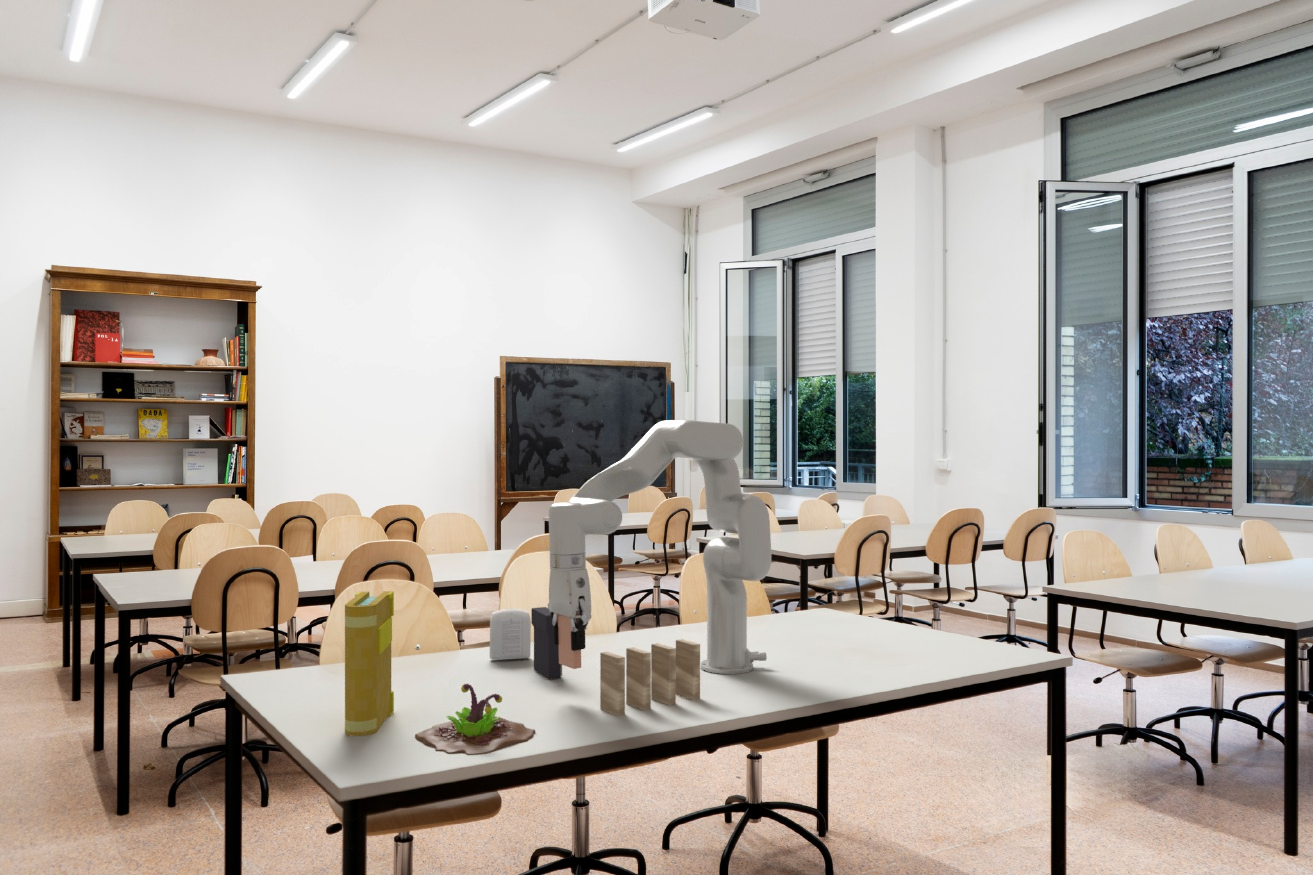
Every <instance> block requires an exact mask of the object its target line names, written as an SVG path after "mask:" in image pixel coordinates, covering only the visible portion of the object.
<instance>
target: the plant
mask: <svg viewBox="0 0 1313 875" xmlns="http://www.w3.org/2000/svg"><path fill="white" fill-rule="evenodd" d="M460 689H461V692H462V693H463V694H464V693H468V692H469V691H470V697H471V704H470V708H471V709H470V708H468V707H466V706H464V707H463V708H462V709H461V712H460V711H457V710H455V714H456V716H457V717H458V719H457V718H456V717H454V716H451V715H445V716H446V718H447V719H448V720H450V721H447V722H443V723H438V724H435V725H432V727H430V728H426V729H423V730H422V731H420V732H418V733H416V734H414V738H415V739H416V741H419V742H421V743H422V744H424V745H425V746H428V747H431V748H433V749H435V750H434V751H435V752H443V753H446V754H448V755H451V754H455V755H456V754H465V755H466V756H477V755H485V754H491V753H494V752H496V751H497V752H498V751H499V750H501V749H504V748H507V747H510V746H514V745H516V744H521V743H525V742H526V743H527V742H528V741H530V740H531V739H532V738H534V735H535V734H536V730H535V728H534V729H533V728H528V727H526V725H525V724H524V723H522V722H521V723H520V722H515V721H512V720H508V719H507V718H503V717H500V716H497V715H496V713H497V711H498V707H494V708H492V706H491V704H490V702H489V701H490V700H491V699H492V698H493V699H494V700H495V702H496V703H497V704H499V703H502V701H503V696H502V695H500V694H498V693H492V694H489V695H488V696H487V697H486V698H483V699H481V700H479V701H478V697H477V694H476V693H475V689H474V687H473V685H471V684H470V683H464V684H462V685H461V688H460ZM484 712H485V713H484Z"/></svg>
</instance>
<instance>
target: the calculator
mask: <svg viewBox="0 0 1313 875" xmlns="http://www.w3.org/2000/svg"><path fill="white" fill-rule="evenodd" d="M530 612H531V614H530V619H531V626H532V627H533V670H534V671H535V672H536V673H538V674H539V675H541V676H542V677H544V678H545V679H547V680H548V681H549V680H550V681H552V680H560V679H561V678H562V677H563V665H562V664H559V646H558V645H555V644H554V626H553V624H552V620H553V619H552V617H551V613H550V611H549V609H548V607H546V606H540V607H532V608H531V610H530Z"/></svg>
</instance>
